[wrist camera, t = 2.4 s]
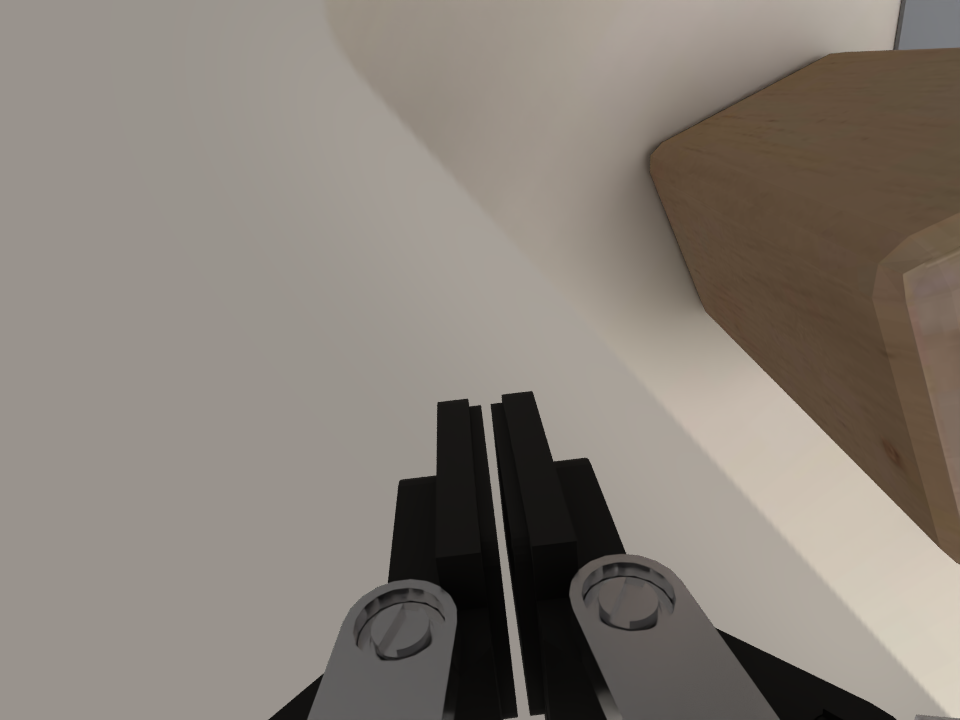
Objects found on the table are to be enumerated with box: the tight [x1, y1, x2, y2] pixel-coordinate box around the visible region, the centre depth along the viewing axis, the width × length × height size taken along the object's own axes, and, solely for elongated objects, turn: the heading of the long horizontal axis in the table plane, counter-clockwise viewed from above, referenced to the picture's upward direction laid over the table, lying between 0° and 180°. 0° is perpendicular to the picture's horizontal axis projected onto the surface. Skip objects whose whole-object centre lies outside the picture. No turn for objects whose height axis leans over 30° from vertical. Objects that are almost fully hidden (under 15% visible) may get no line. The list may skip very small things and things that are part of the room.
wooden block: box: [650, 48, 960, 564], centre depth 22 cm, size 10×10×20 cm
